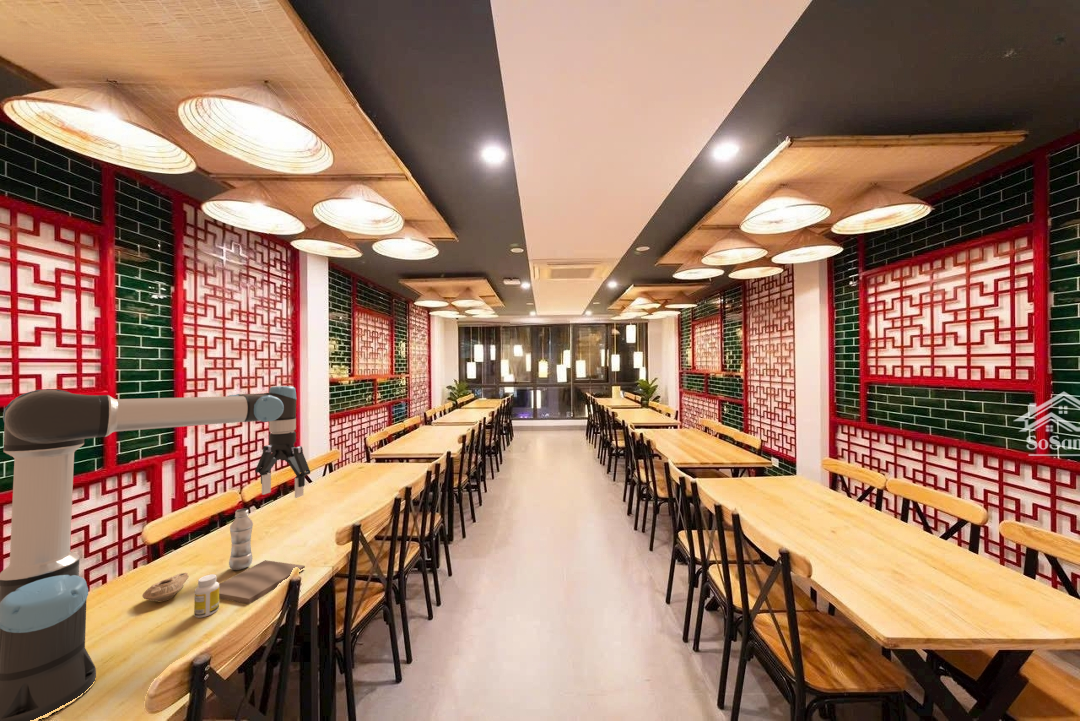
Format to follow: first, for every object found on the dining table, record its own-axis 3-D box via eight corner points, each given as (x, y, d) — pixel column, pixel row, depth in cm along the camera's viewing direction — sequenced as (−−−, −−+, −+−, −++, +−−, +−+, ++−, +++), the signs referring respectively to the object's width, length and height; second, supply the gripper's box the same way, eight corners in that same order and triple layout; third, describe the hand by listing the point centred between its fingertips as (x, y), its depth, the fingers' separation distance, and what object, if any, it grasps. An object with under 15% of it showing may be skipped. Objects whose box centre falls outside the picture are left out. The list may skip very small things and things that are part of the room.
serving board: (249, 603, 114) (249, 598, 114) (204, 596, 118) (205, 591, 118) (304, 570, 134) (304, 565, 134) (265, 564, 137) (265, 560, 137)
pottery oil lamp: (200, 581, 126) (202, 565, 123) (164, 615, 114) (165, 599, 112) (173, 572, 125) (175, 557, 123) (134, 606, 114) (135, 590, 112)
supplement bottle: (218, 604, 114) (219, 570, 114) (219, 612, 110) (220, 578, 110) (194, 611, 110) (195, 577, 111) (193, 621, 106) (194, 585, 107)
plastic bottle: (239, 573, 131) (241, 514, 132) (223, 571, 132) (225, 513, 133) (257, 564, 137) (258, 508, 138) (241, 562, 139) (242, 506, 139)
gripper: (322, 431, 131) (322, 493, 130) (263, 428, 136) (263, 488, 136) (304, 435, 123) (303, 501, 123) (242, 432, 129) (242, 495, 129)
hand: (282, 495), depth 130 cm, fingers open, 13 cm apart
